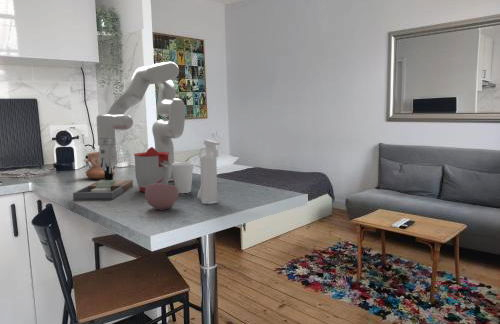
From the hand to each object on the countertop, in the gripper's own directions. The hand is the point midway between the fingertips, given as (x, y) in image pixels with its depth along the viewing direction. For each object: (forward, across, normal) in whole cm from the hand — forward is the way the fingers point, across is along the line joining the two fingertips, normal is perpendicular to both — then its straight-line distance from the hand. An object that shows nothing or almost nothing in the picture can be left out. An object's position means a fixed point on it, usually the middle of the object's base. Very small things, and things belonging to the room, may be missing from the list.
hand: (109, 181), depth 173 cm
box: (+4, -12, 0) cm, 13 cm away
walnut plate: (+4, +2, 0) cm, 5 cm away
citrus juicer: (+4, -1, -21) cm, 22 cm away
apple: (+4, -34, -32) cm, 47 cm away
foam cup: (+4, -6, -35) cm, 36 cm away
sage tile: (+1, -5, 0) cm, 5 cm away
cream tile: (+3, -10, 0) cm, 10 cm away
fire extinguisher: (+4, -24, -48) cm, 54 cm away
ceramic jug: (+4, +32, +16) cm, 36 cm away
